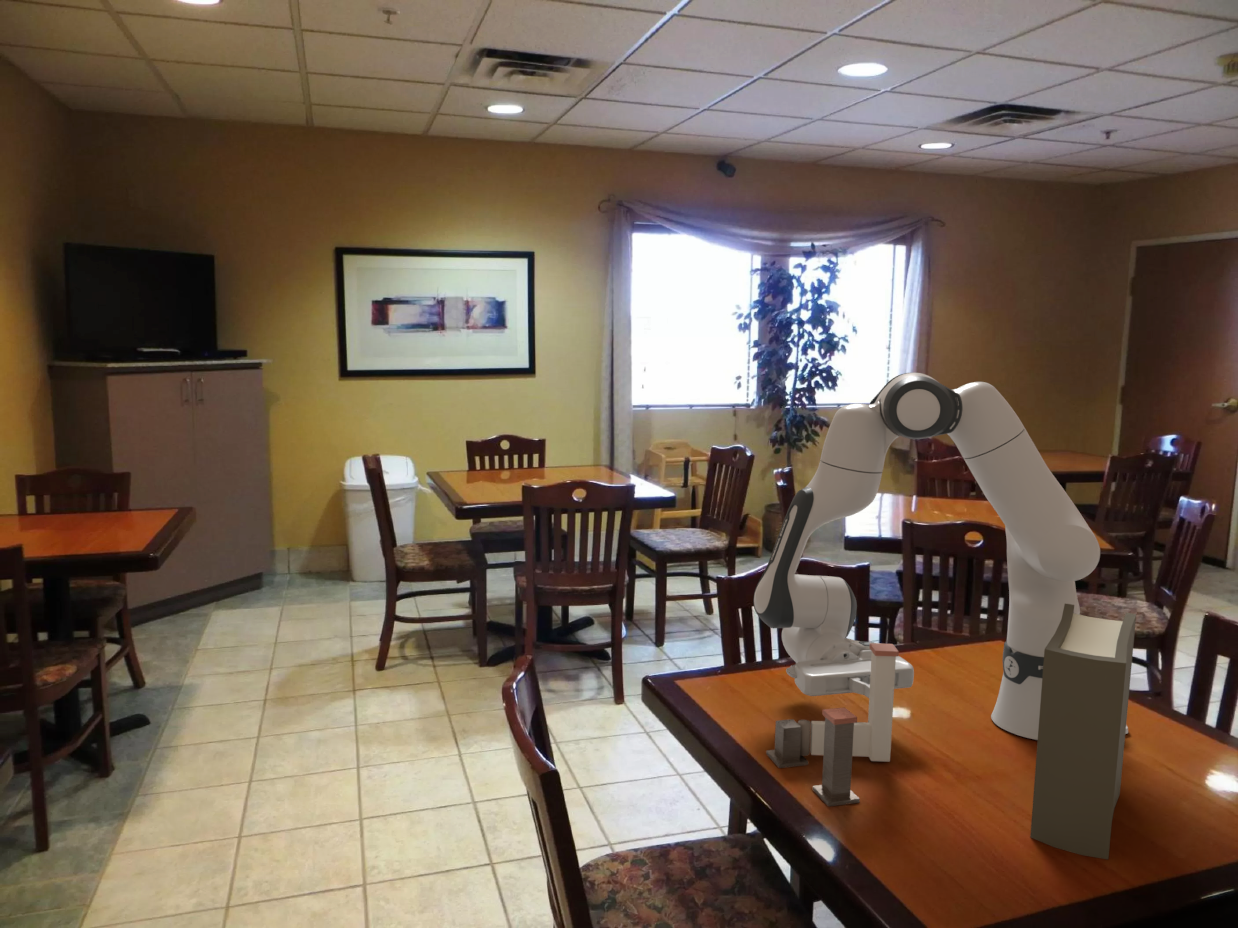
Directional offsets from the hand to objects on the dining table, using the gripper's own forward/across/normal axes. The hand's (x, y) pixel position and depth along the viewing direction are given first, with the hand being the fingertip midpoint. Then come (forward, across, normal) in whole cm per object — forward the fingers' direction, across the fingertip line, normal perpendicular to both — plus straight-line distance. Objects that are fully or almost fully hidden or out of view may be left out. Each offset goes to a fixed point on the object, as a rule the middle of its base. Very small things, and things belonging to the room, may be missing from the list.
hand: (877, 693), depth 143 cm
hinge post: (-1, -15, +10) cm, 18 cm away
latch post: (+11, -13, +10) cm, 20 cm away
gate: (0, -6, +10) cm, 11 cm away
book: (+24, +18, +11) cm, 32 cm away
